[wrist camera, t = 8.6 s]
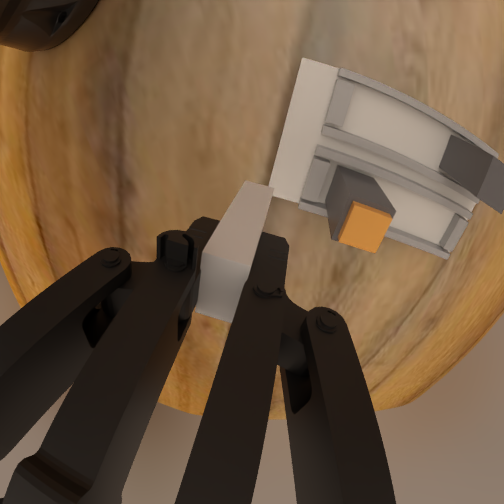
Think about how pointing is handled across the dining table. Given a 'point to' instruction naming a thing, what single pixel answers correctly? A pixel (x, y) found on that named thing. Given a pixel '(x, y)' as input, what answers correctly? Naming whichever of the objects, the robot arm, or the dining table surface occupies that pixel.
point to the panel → (384, 155)
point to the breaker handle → (357, 210)
